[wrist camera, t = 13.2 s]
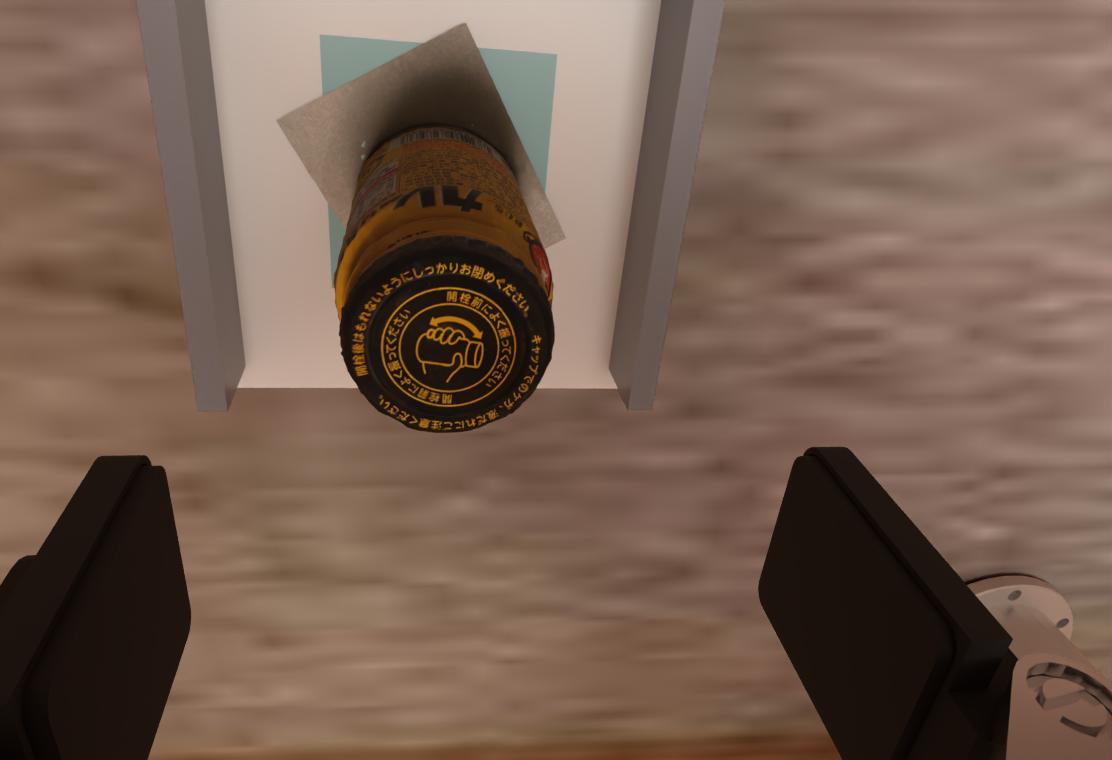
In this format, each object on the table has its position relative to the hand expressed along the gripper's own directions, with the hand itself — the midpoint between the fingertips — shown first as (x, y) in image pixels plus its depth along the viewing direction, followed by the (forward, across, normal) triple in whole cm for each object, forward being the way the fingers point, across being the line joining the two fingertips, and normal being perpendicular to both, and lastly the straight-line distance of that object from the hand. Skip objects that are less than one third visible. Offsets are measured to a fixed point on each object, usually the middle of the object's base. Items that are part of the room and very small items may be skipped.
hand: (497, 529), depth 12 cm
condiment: (+20, +1, 0) cm, 20 cm away
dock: (+22, 0, 0) cm, 22 cm away
